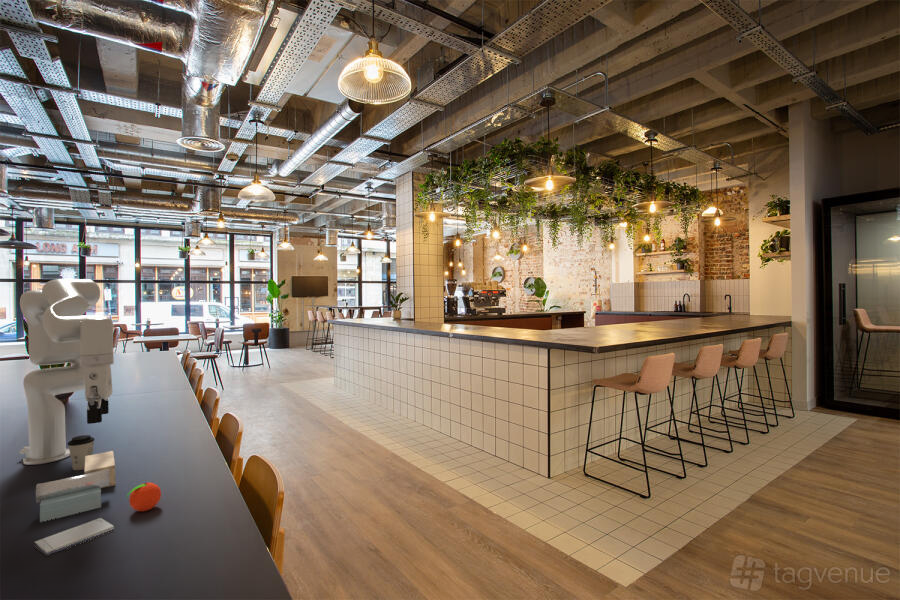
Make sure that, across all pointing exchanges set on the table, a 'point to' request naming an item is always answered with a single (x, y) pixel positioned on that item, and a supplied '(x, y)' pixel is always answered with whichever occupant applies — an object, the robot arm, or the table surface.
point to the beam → (101, 464)
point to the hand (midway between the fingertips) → (98, 418)
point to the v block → (70, 504)
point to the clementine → (144, 496)
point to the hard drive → (74, 535)
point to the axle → (72, 485)
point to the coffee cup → (80, 450)
